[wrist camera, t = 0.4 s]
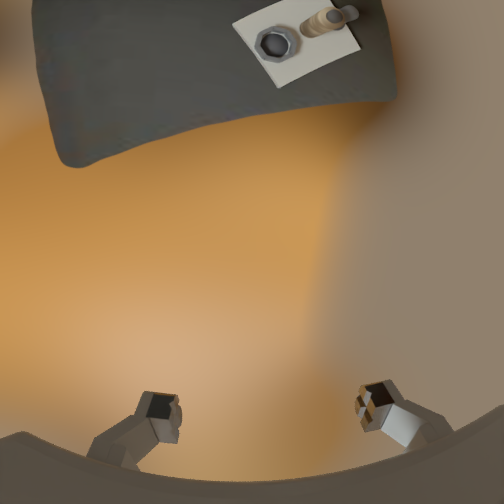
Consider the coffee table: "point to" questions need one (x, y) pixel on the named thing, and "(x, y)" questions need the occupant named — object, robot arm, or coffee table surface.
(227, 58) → the coffee table surface
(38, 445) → the robot arm
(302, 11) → the plate
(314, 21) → the wooden leg
